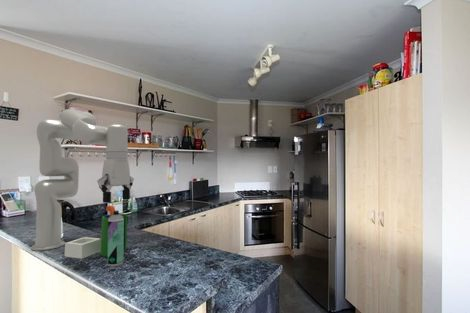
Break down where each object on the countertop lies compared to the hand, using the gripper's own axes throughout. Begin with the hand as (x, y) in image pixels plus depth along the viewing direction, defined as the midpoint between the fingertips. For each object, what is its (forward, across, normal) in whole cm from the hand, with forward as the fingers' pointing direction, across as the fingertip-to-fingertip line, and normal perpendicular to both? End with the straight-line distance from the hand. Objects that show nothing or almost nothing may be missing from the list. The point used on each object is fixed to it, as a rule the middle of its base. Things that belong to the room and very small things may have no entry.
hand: (117, 200), depth 94 cm
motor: (+24, -10, -12) cm, 28 cm away
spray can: (+24, 0, -1) cm, 24 cm away
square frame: (+23, -5, -23) cm, 33 cm away
